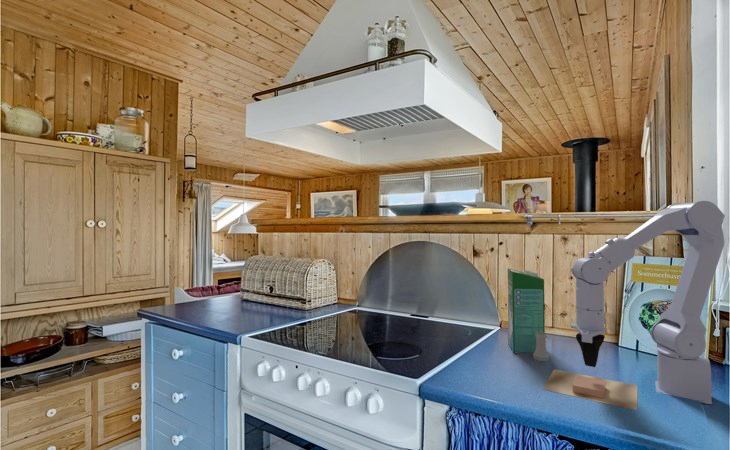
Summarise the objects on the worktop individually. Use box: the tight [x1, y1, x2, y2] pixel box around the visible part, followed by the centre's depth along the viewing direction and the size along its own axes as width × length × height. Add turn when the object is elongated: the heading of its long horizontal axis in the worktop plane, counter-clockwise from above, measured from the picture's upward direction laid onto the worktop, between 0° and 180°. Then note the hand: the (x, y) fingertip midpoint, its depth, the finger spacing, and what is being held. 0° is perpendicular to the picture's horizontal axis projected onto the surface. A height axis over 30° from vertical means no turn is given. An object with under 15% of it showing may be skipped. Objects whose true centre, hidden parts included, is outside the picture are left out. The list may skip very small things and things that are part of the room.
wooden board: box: [542, 368, 638, 411], centre depth 89 cm, size 18×15×1 cm
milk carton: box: [507, 267, 546, 354], centre depth 119 cm, size 9×9×25 cm
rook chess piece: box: [532, 332, 550, 362], centre depth 109 cm, size 4×4×8 cm
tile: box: [573, 375, 606, 398], centre depth 88 cm, size 6×2×7 cm
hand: (590, 365), depth 90 cm, fingers closed
